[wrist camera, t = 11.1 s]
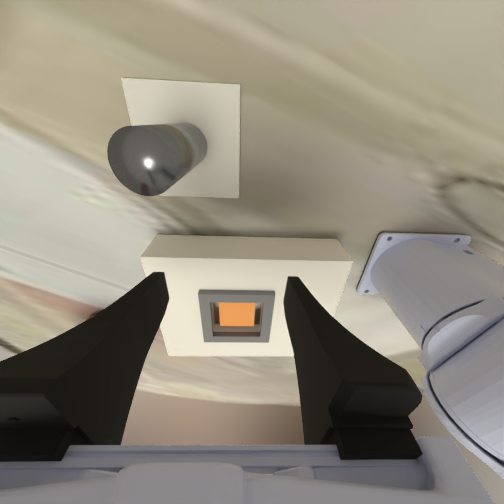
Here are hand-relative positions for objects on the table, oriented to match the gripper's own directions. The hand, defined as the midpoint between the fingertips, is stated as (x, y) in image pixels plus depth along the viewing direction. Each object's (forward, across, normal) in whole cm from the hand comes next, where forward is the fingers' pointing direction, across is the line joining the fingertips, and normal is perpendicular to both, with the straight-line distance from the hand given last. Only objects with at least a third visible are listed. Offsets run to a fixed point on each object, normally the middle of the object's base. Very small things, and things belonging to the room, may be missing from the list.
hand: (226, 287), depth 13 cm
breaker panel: (+9, -2, +8) cm, 13 cm away
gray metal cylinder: (+9, +4, -6) cm, 12 cm away
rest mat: (+9, +4, -6) cm, 12 cm away
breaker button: (+9, -1, +9) cm, 12 cm away
